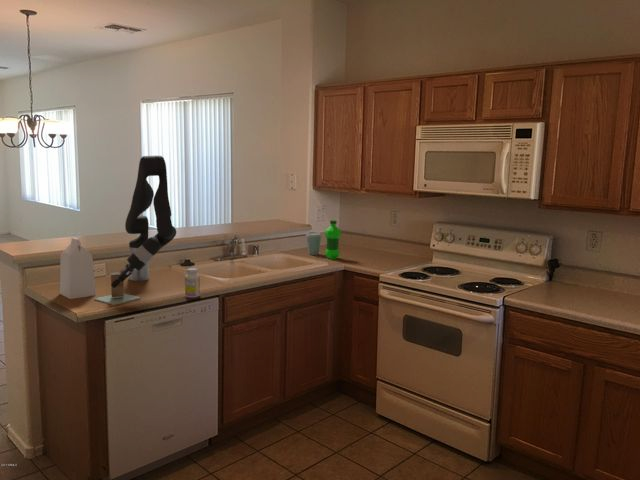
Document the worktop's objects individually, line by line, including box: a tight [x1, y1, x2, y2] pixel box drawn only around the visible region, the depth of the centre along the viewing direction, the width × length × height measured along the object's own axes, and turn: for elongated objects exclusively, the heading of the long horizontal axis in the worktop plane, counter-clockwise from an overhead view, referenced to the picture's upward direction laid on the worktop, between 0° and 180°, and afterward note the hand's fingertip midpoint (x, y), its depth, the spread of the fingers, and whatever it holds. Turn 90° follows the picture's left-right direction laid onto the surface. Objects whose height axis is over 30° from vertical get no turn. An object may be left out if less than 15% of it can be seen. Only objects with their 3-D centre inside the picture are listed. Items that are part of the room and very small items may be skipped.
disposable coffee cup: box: [305, 231, 322, 256], centre depth 365 cm, size 11×11×15 cm
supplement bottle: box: [184, 267, 201, 299], centre depth 248 cm, size 7×7×13 cm
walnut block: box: [110, 271, 125, 297], centre depth 239 cm, size 5×5×10 cm
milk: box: [59, 237, 97, 300], centre depth 244 cm, size 12×12×26 cm
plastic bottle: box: [324, 219, 342, 260], centre depth 351 cm, size 10×10×25 cm
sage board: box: [93, 292, 142, 306], centre depth 240 cm, size 14×14×1 cm
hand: (112, 284), depth 238 cm, fingers open, 5 cm apart
